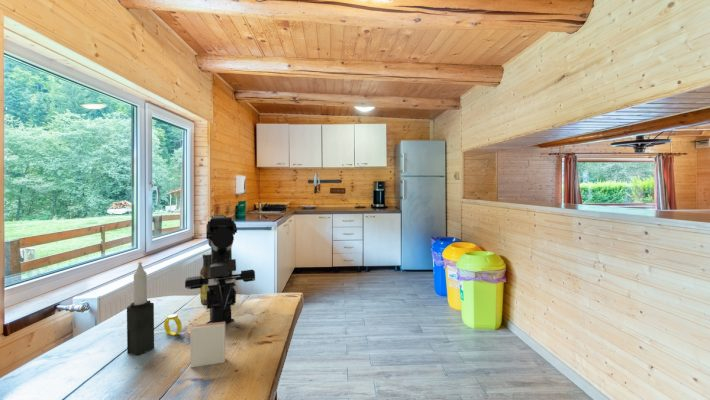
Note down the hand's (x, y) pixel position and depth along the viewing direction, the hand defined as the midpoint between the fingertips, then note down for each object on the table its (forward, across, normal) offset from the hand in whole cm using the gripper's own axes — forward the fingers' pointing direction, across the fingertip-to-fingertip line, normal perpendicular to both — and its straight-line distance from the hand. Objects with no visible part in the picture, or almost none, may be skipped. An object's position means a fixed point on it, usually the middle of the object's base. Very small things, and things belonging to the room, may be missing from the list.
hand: (222, 309), depth 86 cm
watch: (+4, -16, +16) cm, 23 cm away
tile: (+8, -3, -5) cm, 10 cm away
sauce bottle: (-6, -9, +40) cm, 41 cm away
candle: (+7, -22, +8) cm, 25 cm away
